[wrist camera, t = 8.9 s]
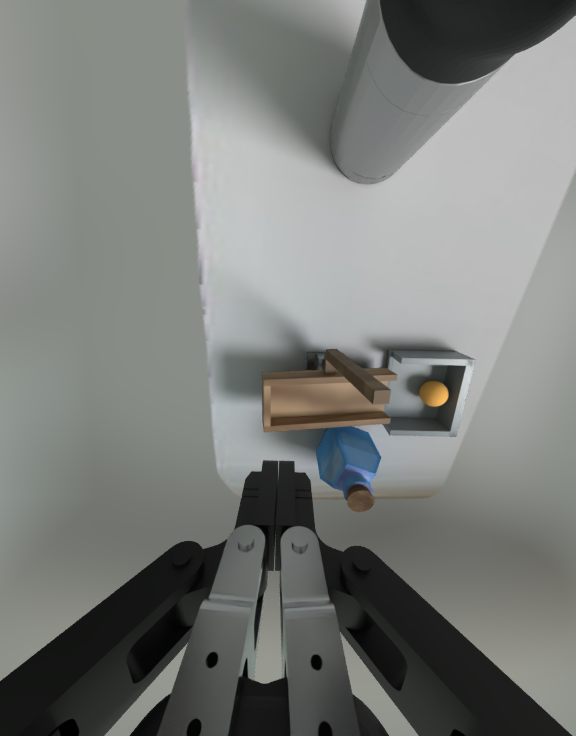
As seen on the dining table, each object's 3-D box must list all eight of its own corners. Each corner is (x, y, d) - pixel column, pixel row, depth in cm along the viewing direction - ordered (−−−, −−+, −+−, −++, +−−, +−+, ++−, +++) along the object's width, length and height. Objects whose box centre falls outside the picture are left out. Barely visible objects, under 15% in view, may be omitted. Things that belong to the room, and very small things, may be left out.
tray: (388, 350, 38) (399, 358, 34) (457, 351, 38) (475, 359, 34) (378, 420, 42) (387, 435, 38) (441, 422, 42) (456, 436, 38)
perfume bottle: (368, 432, 42) (397, 489, 31) (350, 463, 44) (372, 527, 33) (332, 419, 42) (348, 472, 30) (316, 451, 43) (325, 512, 32)
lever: (261, 348, 33) (276, 395, 20) (389, 345, 36) (476, 385, 23) (262, 421, 37) (275, 503, 23) (379, 413, 39) (451, 483, 26)
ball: (420, 375, 39) (423, 384, 36) (447, 378, 38) (454, 388, 35) (415, 398, 41) (418, 408, 37) (442, 401, 40) (448, 412, 36)
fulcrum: (307, 352, 38) (308, 358, 35) (342, 353, 38) (347, 359, 35) (304, 415, 41) (305, 426, 38) (337, 416, 41) (340, 427, 38)
